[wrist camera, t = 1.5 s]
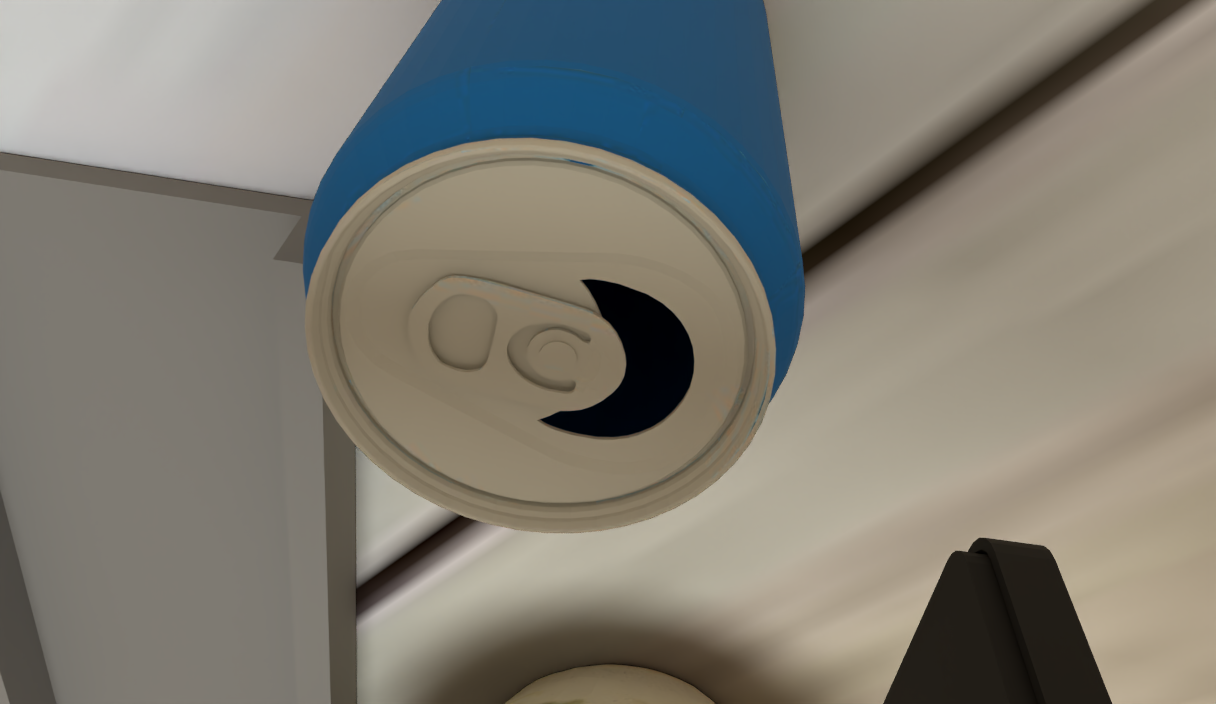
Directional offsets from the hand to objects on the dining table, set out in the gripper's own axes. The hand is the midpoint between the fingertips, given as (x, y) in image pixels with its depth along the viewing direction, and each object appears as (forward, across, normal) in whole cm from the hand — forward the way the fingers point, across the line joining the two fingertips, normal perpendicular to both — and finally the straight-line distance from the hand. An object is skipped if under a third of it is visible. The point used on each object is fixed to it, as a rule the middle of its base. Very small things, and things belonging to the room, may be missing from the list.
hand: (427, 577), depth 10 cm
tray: (+16, +10, +16) cm, 25 cm away
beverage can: (+16, -1, 0) cm, 16 cm away
